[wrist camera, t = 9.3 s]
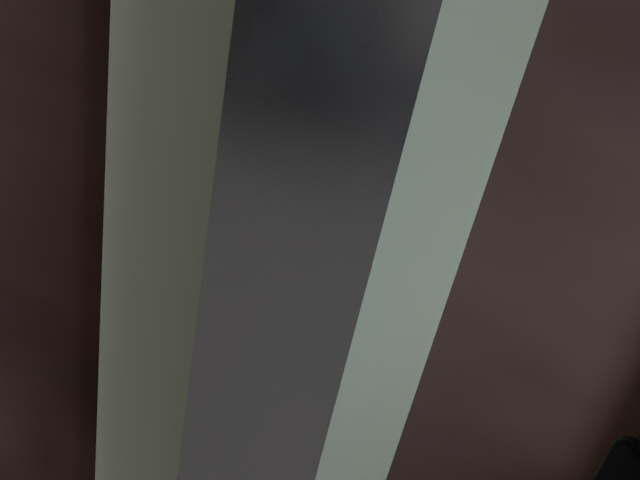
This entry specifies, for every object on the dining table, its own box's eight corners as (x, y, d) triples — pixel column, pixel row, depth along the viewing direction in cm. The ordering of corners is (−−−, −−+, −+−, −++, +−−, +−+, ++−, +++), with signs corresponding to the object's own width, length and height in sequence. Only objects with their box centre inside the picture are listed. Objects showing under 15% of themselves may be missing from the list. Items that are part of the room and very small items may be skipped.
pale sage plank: (345, 571, 20) (347, 594, 19) (100, 540, 19) (92, 563, 19) (735, -613, 8) (773, -664, 8) (156, -793, 8) (139, -867, 7)
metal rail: (280, 543, 18) (275, 628, 16) (180, 530, 18) (160, 615, 16) (537, -497, 8) (616, -654, 6) (324, -559, 8) (325, -745, 6)
